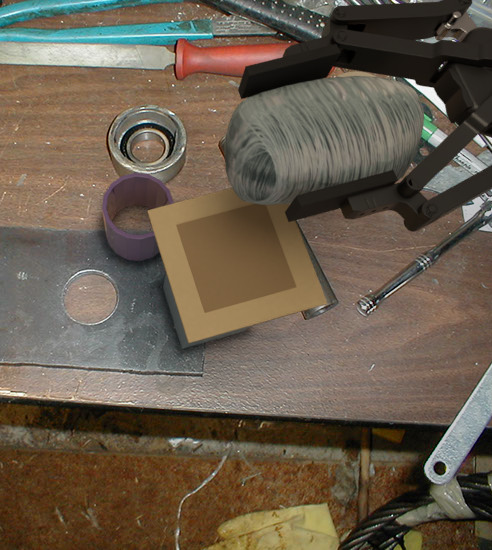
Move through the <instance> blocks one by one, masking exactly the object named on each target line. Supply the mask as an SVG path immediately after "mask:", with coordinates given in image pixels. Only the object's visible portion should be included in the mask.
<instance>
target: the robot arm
mask: <svg viewBox="0 0 492 550" xmlns="http://www.w3.org/2000/svg"><path fill="white" fill-rule="evenodd" d="M472 4H473V0H439V1H427V2H426V1H425V2H424V1H423V2H422V1H421V2H399V3H398V2H397V3H375V4H373V3H372V4H348V5H336V6H335V7H334V8H333V9H332V11H331V13H330V16H329V17H328V19H327V22H326V24H325V26H324V28H323V30H322V32H321V34H320V37H318V38H313V39H311V40H307V41H302V42H300V43H295V44H290V45H289V46H288V47H287V48H285V50H284V52H283V53H282V57H278V58H274V59H269V60H265V61H261V62H257V63H254V64H250V65H246V66H245V67H244V70H243V73H242V76H241V79H240V83H239V86H238V89H237V92H238V93H239V94H238V95H239V97H240V99H241V100H243V99H244V100H245V99H246V98H248V97H251V96H254V95H257V94H259V93H262V92H266V91H269V90H273V89H276V88H280V87H283V86H287V85H292V84H297V83H301V82H307V81H313V80H318V79H324V78H328V77H329V75H330V73H331V71H332V69H333V68H339V69H345V70H350V71H351V70H352V71H359V72H366V73H369V74H375V75H376V74H377V75H383V76H388V77H394V78H400V79H407V80H413V81H415V85H416V86H420V87H424V88H425V87H426V88H433V90H434V92H435V94H436V96H437V97H438V98H439V99H440V100H441V102H442V103H443V104H444V108H445V114H446V116H447V119H448V120H449V122H450V124H451V125H452V124H456V125H457V127H456V128H454V129H453V130H452V131H451V132H450V133H449V134H448V135H447V136H446V137H445V138H444V139H443V140H442V141H441V142H440V143H439V144H438V145H437V146H436V147H435V148H434V149H433V150H432V151H430V152H429V154H427V156H425V158H423V160H421V161H420V162H419V163H418V164H417V165H416V166H415V167H414V168H413V169H412V170H410V172H409V173H408V174H407V175H406V176H405V177H403V179H402V180H400V181H399V180H398V179H397V177H396V175H395V172H394V170H391V171H387V172H383V173H380V174H376V175H372V176H368V177H365V178H361V179H357V180H354V181H350V182H346V183H342V184H339V185H335V186H331V187H327V188H324V189H320V190H316V191H312V192H309V193H305V194H301V195H297V196H296V197H295V198H294V200H293V201H292V203H291V204H289V207H288V208H287V210H286V211H285V214H286V217H287V219H288V222H291V221H298V220H302V219H306V218H310V217H314V216H317V215H320V214H321V215H322V214H324V213H328V212H332V211H336V210H339V209H340V210H341V213H342V215H343V218H344V220H357V219H361V218H365V217H368V216H371V215H375V214H379V213H382V212H385V211H393V212H395V213H396V214H398V215H399V216H400V217H401V218H402V219H403V226H404V228H405V229H406V230H407V231H409V232H414V233H415V232H419V231H420V230H423V229H425V228H426V227H428V226H430V225H431V224H432V223H433V224H434V222H436V221H438V220H440V219H442V218H444V217H445V216H447V215H449V214H451V213H452V212H454V211H456V210H458V209H460V208H461V207H463V206H465V205H467V204H468V203H470V202H472V201H473V200H475V199H477V198H480V197H481V196H483V195H485V194H486V193H488V192H490V191H492V164H491V165H489V166H487V167H485V168H483V169H481V170H480V171H478V172H477V173H475V174H472V175H471V176H469V177H467V178H466V179H464V180H462V181H460V182H458V183H457V184H455V185H453V186H451V187H450V188H447V189H446V190H444V191H442V192H440V193H439V194H437V195H435V196H433V197H431V198H429V199H427V198H426V196H425V195H423V193H422V192H421V191H423V189H425V187H426V186H427V185H428V184H429V183H430V182H431V181H432V180H433V179H434V178H435V177H436V176H437V175H438V174H439V173H440V172H441V171H442V170H443V169H445V168H446V166H448V164H449V163H451V161H453V160H454V158H455V157H457V156H458V155H459V153H460V152H462V151H463V150H464V149H465V148H466V147H467V146H468V145H469V144H470V143H471V142H472V141H473V140H474V139H475V138H476V137H477V136H478V135H482V136H484V137H488V138H491V139H492V28H491V27H487V26H477V24H476V23H475V21H474V20H473V18H472V17H471V15H469V13H468V10H469V8H470V7H471V6H472ZM431 38H434V39H435V40H436V41H435V42H427V41H421V40H428V39H431ZM444 38H446V39H444ZM447 38H448V39H447ZM449 38H452V39H455V40H456V41H455V40H449ZM398 181H399V182H398Z"/></svg>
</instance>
